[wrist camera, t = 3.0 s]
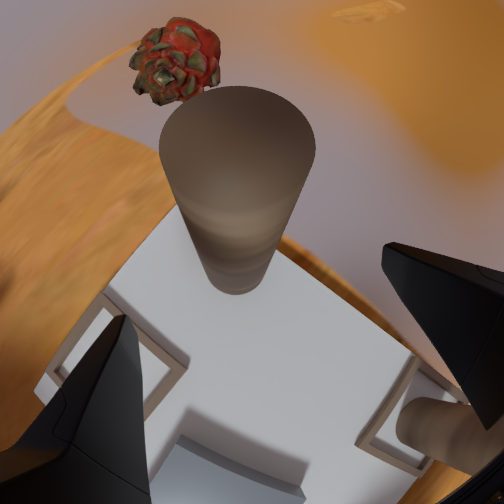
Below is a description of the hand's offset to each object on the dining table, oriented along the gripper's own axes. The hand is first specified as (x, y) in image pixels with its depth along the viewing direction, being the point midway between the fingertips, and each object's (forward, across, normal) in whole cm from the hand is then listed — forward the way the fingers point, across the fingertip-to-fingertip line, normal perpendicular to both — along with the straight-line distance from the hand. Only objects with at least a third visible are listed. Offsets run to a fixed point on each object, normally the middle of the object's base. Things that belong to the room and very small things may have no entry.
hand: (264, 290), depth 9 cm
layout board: (+2, +1, +13) cm, 13 cm away
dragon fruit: (+24, +1, -8) cm, 25 cm away
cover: (-2, +5, +15) cm, 16 cm away
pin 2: (-2, -10, +15) cm, 18 cm away
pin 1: (+9, 0, +4) cm, 10 cm away
